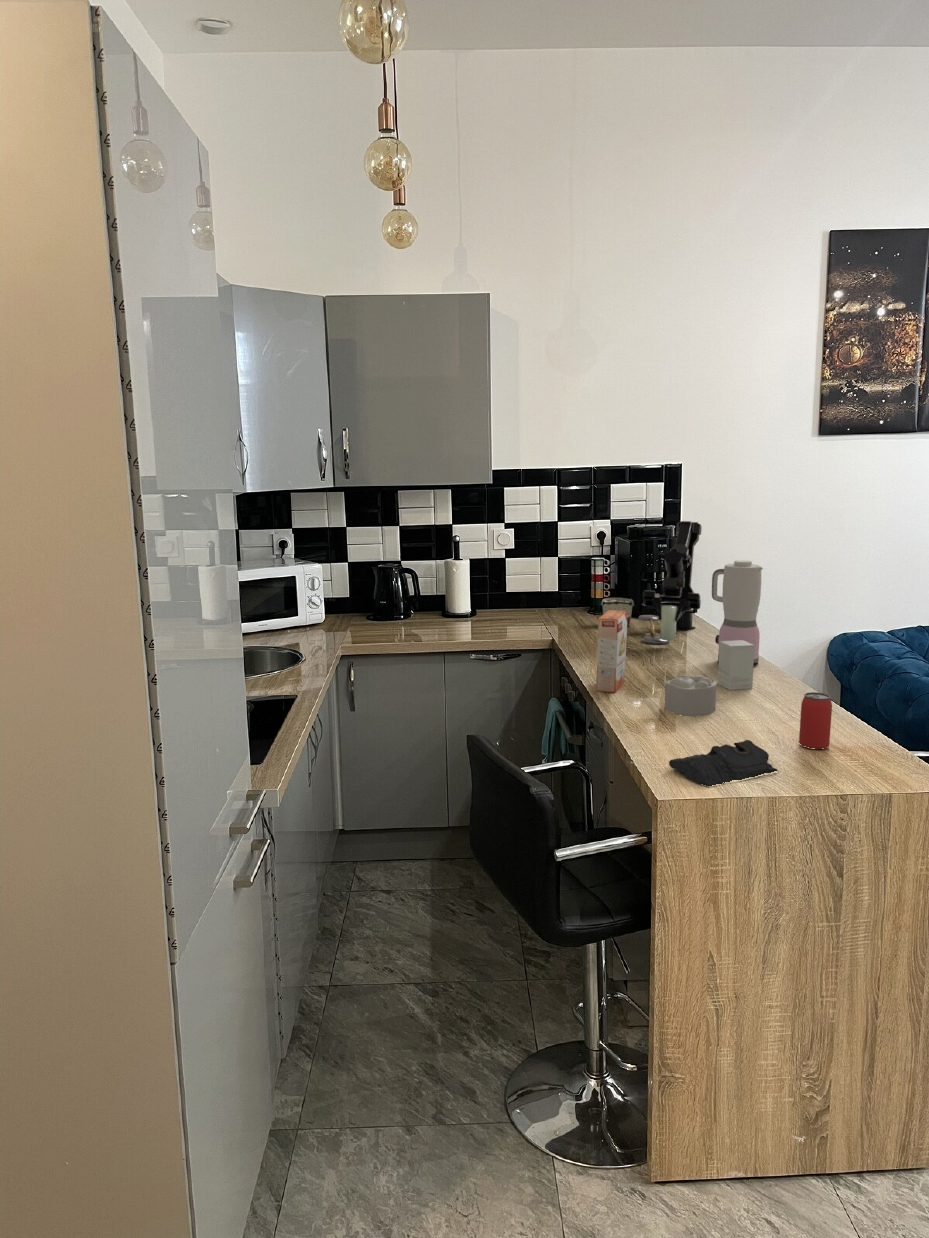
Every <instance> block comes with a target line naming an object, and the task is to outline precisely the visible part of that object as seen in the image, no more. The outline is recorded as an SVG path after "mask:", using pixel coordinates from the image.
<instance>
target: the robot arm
mask: <svg viewBox="0 0 929 1238" xmlns="http://www.w3.org/2000/svg"><path fill="white" fill-rule="evenodd" d="M675 533H676V534H677V537H676V540H675V544H674V546H672V547H671V548H670V549H669V551H668V552H667V553H666V554H665V555H664V564H665V565H664V566H665V570H666V573H667V574H666V577H663V581H662V594H660V593H656V592H657V591H656V590H647V589H645V590H644V591H643V592H642V600H643V605H644V606H645V607H653V609H656V611H657V616H659V620H658V621H661V606H663V604H662V602H663V603H670V605H673V606H677V614H676V630H679V631H689V630H693V629H696V626H693V614H698V610H700V609H701V604H702V602H701V594H699V593H698V592H694V590H693V587H692V576H693V575H692V574H693V564H694V562H693V560H694V551H695V546H696V545H697V543H699V540H700V536H701V534H702V524H700V523H699V522H698V521H696V522H695V521H691V520H690V521H687V520H681V521H679V522H677V523H676V531H675Z"/></svg>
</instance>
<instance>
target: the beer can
mask: <svg viewBox="0 0 929 1238" xmlns="http://www.w3.org/2000/svg"><path fill="white" fill-rule="evenodd" d="M800 706H801V707H800V717H799V719H800V720H799V734H798V738H799V739H798V744H799V743H800V744H801V745H802V746H806V747H809V748H815V749H822V748H826V749H828V748H829V747H830V740H831V728H832V727H831V725H832V715H833V713H832V712H833V703H832V700H831V695H829V694H828V693H825V692H818V691H817V692H816V691H813V692H810V691H809V692H805V693H804V697H803V699H802V701H801V705H800ZM800 744H799V745H800ZM801 745H800V746H801ZM802 746H801V747H802ZM827 747H828V748H827Z"/></svg>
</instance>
